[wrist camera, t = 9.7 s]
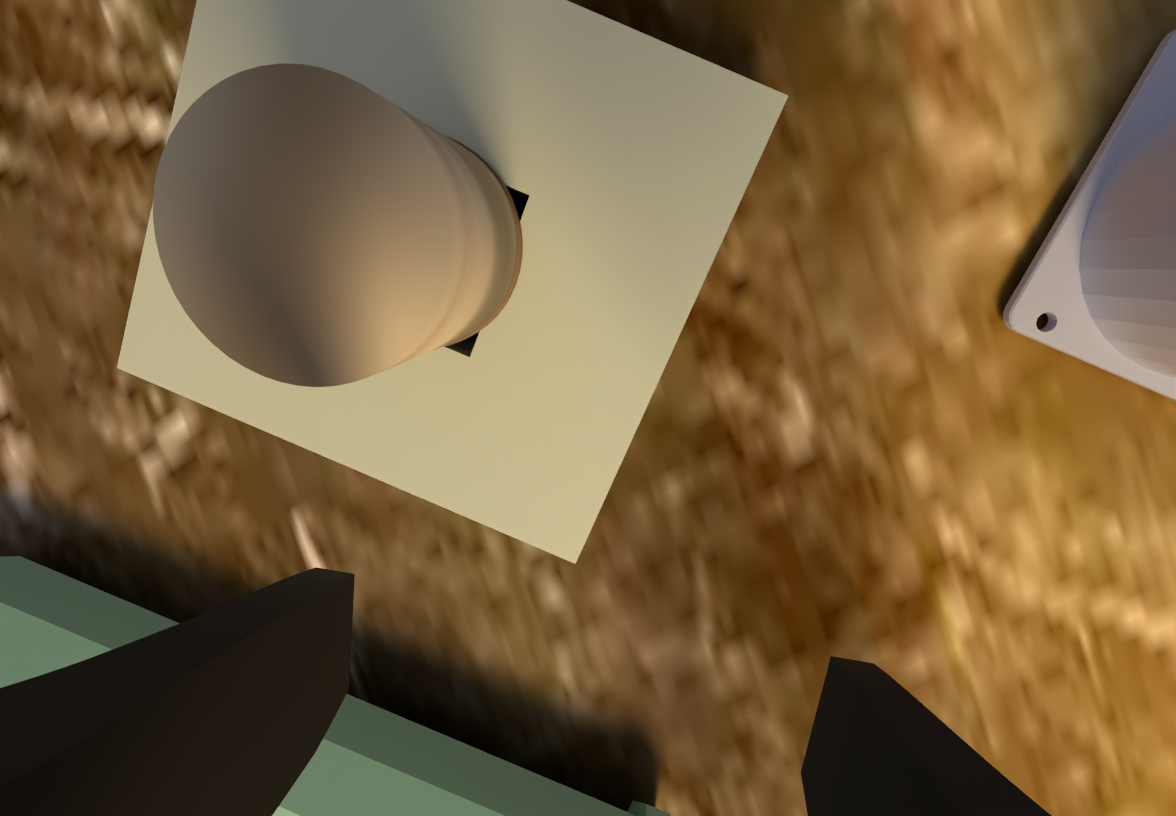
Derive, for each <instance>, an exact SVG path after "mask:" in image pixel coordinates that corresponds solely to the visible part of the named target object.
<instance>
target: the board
mask: <svg viewBox="0 0 1176 816" xmlns="http://www.w3.org/2000/svg"><path fill="white" fill-rule="evenodd" d="M280 63H285V64H304V65H310V66H315V67H321V68H324V69H327V70H330V71H333V72H336V73H339V74H342V75H344V76H346V77H348V78H350V79H352V80H354V81H356V82H358V83H360V84H362V85H364V86H366V87H367V88H369V89H371V90H372V91H374V92H375V93H377V94H379V95H380V96H382V97H383V98H385V99H387V100H388V101H390V102H392V103H393V104H395V105H396V106H398V107H400V108H401V109H403V110H404V111H406V112H408V113H409V114H411V115H413V116H414V117H416V118H417V119H419V120H421V121H422V122H424V123H425V124H427V125H429V126H430V127H432V128H434V129H435V130H437V131H438V132H440V133H442V134H443V135H445V136H448V137H450V138H452V139H454V140H456V141H458V142H460V143H462V144H463V145H465V146H467V147H468V148H470V149H471V150H473V151H474V152H475V153H477V154H478V155H480V156H481V157H482V158H483V159H484V160H485V161H486V162H487V163H489V164H490V166H491V167H492V168H493V169H494V170H495V171H496V172H497V174H498V175H499V176H500V178H501V179H502V181H503V182H504V184H505V185H506V187H507V188H509V189H511V190H514V191H516V192H518V193H521V194H523V195H525V196H528V197H529V199H528V201H527V204H526V207H525V209H524V212H523V215H522V218H521V220H520V224H521V229H522V239H523V253H522V262H521V269H520V273H519V276H518V280H517V283H516V286H515V288H514V290H513V292H512V295H511V297H510V298H509V300H508V302H507V303H506V305H505V307H504V308H503V309H502V310H501V312H500V313H499V314H498V315H497V317H496V318H495V319H494V320H493V321H492V322H490V323H489V324H488V325H487V326H486V327H485V328H483V329H482V330H480V331H479V334H478V337H477V338H475V337H472V336H471V337H469V338H467V339H465V340H462V341H460V342H457V343H454V344H452V345H449V346H444V347H440V348H438V349H436V350H433V351H431V352H428V353H426V354H423V355H421V356H419V357H416V358H414V359H411V360H409V361H407V362H404V363H402V364H399V365H397V366H394V367H392V368H390V369H387V370H385V371H382V372H380V373H377V374H375V375H373V376H370V377H367V378H365V379H362V380H359V381H356V382H353V383H348V384H343V385H338V386H329V387H307V386H297V385H292V384H287V383H282V382H279V381H276V380H273V379H270V378H267V377H264V376H261V375H259V374H257V373H255V372H253V371H251V370H249V369H247V368H245V367H243V366H242V365H240V364H239V363H237V362H236V361H234V360H232V359H231V358H229V357H228V356H227V355H225V354H224V353H223V352H222V351H221V350H219V349H218V348H217V347H216V346H214V345H213V344H212V343H211V342H210V341H209V340H208V339H207V338H206V337H205V336H204V335H203V334H202V333H201V332H200V330H199V329H198V328H197V327H196V326H195V324H194V323H193V322H192V320H191V319H190V318H189V317H188V315H187V314H186V313H185V311H184V309H183V308H182V306H181V304H180V303H179V301H178V299H177V298H176V296H175V294H174V292H173V290H172V288H171V286H170V284H169V282H168V279H167V277H166V275H165V272H164V269H163V266H162V263H161V260H160V257H159V252H158V248H157V243H156V239H155V232H154V222H153V204H152V209H151V214H150V218H149V223H148V227H147V232H146V237H145V241H144V246H143V250H142V255H141V260H140V264H139V269H138V273H137V278H136V282H135V287H134V292H133V296H132V301H131V305H130V310H129V315H128V319H127V324H126V328H125V333H124V338H123V342H122V347H121V351H120V356H119V361H118V365H117V368H118V369H121V370H123V371H125V372H128V373H130V374H132V375H135V376H137V377H139V378H142V379H144V380H146V381H149V382H151V383H153V384H156V385H158V386H160V387H163V388H165V389H168V390H170V391H172V392H175V393H177V394H179V395H182V396H184V397H186V398H189V399H191V400H193V401H196V402H198V403H200V404H203V405H205V406H207V407H210V408H212V409H214V410H217V411H219V412H221V413H224V414H226V415H228V416H231V417H233V418H235V419H238V420H240V421H242V422H245V423H247V424H249V425H252V426H254V427H256V428H259V429H261V430H263V431H266V432H268V433H270V434H273V435H275V436H277V437H280V438H282V439H284V440H287V441H289V442H292V443H294V444H296V445H299V446H301V447H303V448H306V449H308V450H310V451H313V452H315V453H317V454H320V455H322V456H324V457H327V458H329V459H331V460H334V461H336V462H338V463H341V464H343V465H345V466H348V467H350V468H352V469H355V470H357V471H359V472H362V473H364V474H366V475H369V476H371V477H373V478H376V479H378V480H380V481H383V482H385V483H387V484H390V485H392V486H394V487H397V488H399V489H401V490H404V491H406V492H409V493H411V494H413V495H416V496H418V497H420V498H423V499H425V500H427V501H430V502H432V503H434V504H437V505H439V506H441V507H444V508H446V509H448V510H451V511H453V512H455V513H458V514H460V515H462V516H465V517H467V518H469V519H472V520H474V521H476V522H479V523H481V524H483V525H486V526H488V527H490V528H493V529H495V530H497V531H500V532H502V533H504V534H507V535H509V536H511V537H514V538H516V539H518V540H521V541H523V542H525V543H528V544H530V545H533V546H535V547H537V548H540V549H542V550H544V551H547V552H549V553H551V554H554V555H556V556H558V557H561V558H563V559H565V560H568V561H570V562H572V563H575V564H576V561H577V559H578V557H579V555H580V553H581V550H582V548H583V546H584V544H585V542H586V539H587V537H588V535H589V533H590V531H591V528H592V526H593V524H594V522H595V520H596V517H597V515H598V513H599V511H600V509H601V506H602V504H603V502H604V500H605V498H606V495H607V493H608V491H609V489H610V487H611V484H612V482H613V480H614V478H615V476H616V473H617V471H618V469H619V467H620V465H621V462H622V460H623V458H624V456H625V454H626V452H627V449H628V447H629V445H630V443H631V441H632V438H633V436H634V434H635V432H636V430H637V427H638V425H639V423H640V421H641V419H642V416H643V414H644V412H645V410H646V408H647V405H648V403H649V401H650V399H651V397H652V394H653V392H654V390H655V388H656V386H657V383H658V381H659V379H660V377H661V375H662V372H663V370H664V368H665V366H666V364H667V361H668V359H669V357H670V355H671V353H672V350H673V348H674V346H675V344H676V342H677V339H678V337H679V335H680V333H681V331H682V328H683V326H684V324H685V322H686V320H687V317H688V315H689V313H690V311H691V309H692V306H693V304H694V302H695V300H696V298H697V295H698V293H699V291H700V289H701V287H702V284H703V282H704V280H705V278H706V276H707V273H708V271H709V269H710V267H711V265H712V263H713V260H714V258H715V256H716V254H717V252H718V249H719V247H720V245H721V243H722V241H723V238H724V236H725V234H726V232H727V230H728V227H729V225H730V223H731V221H732V219H733V216H734V214H735V212H736V210H737V208H738V205H739V203H740V201H741V199H742V197H743V194H744V192H745V190H746V188H747V186H748V183H749V181H750V179H751V177H752V175H753V172H754V170H755V168H756V166H757V164H758V161H759V159H760V157H761V155H762V153H763V150H764V148H765V146H766V144H767V142H768V139H769V137H770V135H771V133H772V131H773V128H774V126H775V124H776V122H777V120H778V117H779V115H780V113H781V111H782V109H783V106H784V104H785V102H786V100H787V98H788V95H786V94H783V93H781V92H779V91H776V90H774V89H772V88H769V87H767V86H765V85H762V84H760V83H758V82H755V81H753V80H751V79H748V78H746V77H744V76H741V75H739V74H737V73H734V72H732V71H730V70H727V69H725V68H723V67H721V66H718V65H716V64H714V63H711V62H709V61H707V60H704V59H702V58H700V57H697V56H695V55H693V54H690V53H688V52H686V51H683V50H681V49H679V48H676V47H674V46H672V45H669V44H667V43H665V42H662V41H660V40H658V39H655V38H653V37H651V36H649V35H646V34H644V33H642V32H639V31H637V30H635V29H632V28H630V27H628V26H625V25H623V24H621V23H618V22H616V21H614V20H611V19H609V18H607V17H604V16H602V15H600V14H597V13H595V12H593V11H590V10H588V9H586V8H583V7H581V6H579V5H577V4H574V3H572V2H570V1H567V0H197V2H196V7H195V11H194V16H193V21H192V25H191V30H190V34H189V39H188V44H187V48H186V53H185V57H184V62H183V67H182V71H181V76H180V80H179V85H178V89H177V94H176V99H175V103H174V108H173V112H172V117H171V122H170V126H169V131H168V135H167V140H166V143H167V141H168V138H169V136H170V134H171V133H172V131H173V129H174V128H175V126H176V124H177V123H178V121H179V119H180V118H181V117H182V116H183V114H184V113H185V112H186V111H187V109H188V108H189V107H190V106H191V105H192V103H194V102H195V101H196V100H197V99H198V98H199V97H200V96H201V95H202V94H203V93H205V92H206V91H207V90H208V89H210V88H211V87H213V86H214V85H216V84H217V83H219V82H220V81H222V80H223V79H225V78H228V77H230V76H232V75H234V74H236V73H239V72H241V71H244V70H247V69H251V68H255V67H258V66H263V65H271V64H280Z"/></svg>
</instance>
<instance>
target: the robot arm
mask: <svg viewBox="0 0 1176 816" xmlns="http://www.w3.org/2000/svg"><path fill="white" fill-rule="evenodd" d="M1043 313H1045V314H1047V316H1048V322H1047V325H1046V326H1045V327H1044V328H1043V329H1041V330H1039V329H1038V328H1037V325H1036V322H1037V318H1038V317H1039V316H1040V315H1041V314H1043ZM1003 321H1004V323H1005V325H1006V327H1008V328H1009V329H1010V330H1012V331H1014V332H1016V333H1019V334H1021V335H1023V336H1026V337H1028V338H1030V339H1033V340H1035V341H1037V342H1040V343H1042V344H1044V345H1047V346H1049V347H1051V348H1054V349H1056V350H1058V351H1061V352H1063V353H1065V354H1068V355H1070V356H1072V357H1075V358H1077V359H1079V360H1082V361H1084V362H1086V363H1089V364H1091V365H1093V366H1096V367H1098V368H1100V369H1102V370H1105V371H1107V372H1109V373H1112V374H1114V375H1116V376H1119V377H1121V378H1123V379H1126V380H1128V381H1130V382H1133V383H1135V384H1137V385H1140V386H1142V387H1144V388H1147V389H1149V390H1151V391H1154V392H1156V393H1158V394H1161V395H1163V396H1165V397H1168V398H1170V399H1172V400H1175V401H1176V29H1175V30H1173V31H1172V32H1170V33H1168V34H1167V35H1166V36H1165V37H1164V39H1163V40H1162V41H1161V42H1160V44H1159V46H1158V48H1157V49H1156V51H1155V53H1154V54H1153V56H1152V58H1151V59H1150V61H1149V63H1148V65H1147V66H1146V68H1145V70H1144V71H1143V73H1142V75H1141V76H1140V78H1139V80H1138V82H1137V83H1136V85H1135V87H1134V88H1133V90H1132V92H1131V93H1130V95H1129V97H1128V99H1127V100H1126V102H1125V104H1124V105H1123V107H1122V109H1121V111H1120V112H1119V114H1118V116H1117V117H1116V119H1115V121H1114V122H1113V124H1112V126H1111V128H1110V129H1109V131H1108V133H1107V134H1106V136H1105V138H1104V139H1103V141H1102V143H1101V145H1100V146H1099V148H1098V150H1097V151H1096V153H1095V155H1094V156H1093V158H1092V160H1091V162H1090V163H1089V165H1088V167H1087V168H1086V170H1085V172H1084V174H1083V175H1082V177H1081V179H1080V180H1079V182H1078V184H1077V185H1076V187H1075V189H1074V191H1073V192H1072V194H1071V196H1070V197H1069V199H1068V201H1067V202H1066V204H1065V206H1064V208H1063V209H1062V211H1061V213H1060V214H1059V216H1058V218H1057V220H1056V221H1055V223H1054V225H1053V226H1052V228H1051V230H1050V231H1049V233H1048V235H1047V237H1046V238H1045V240H1044V242H1043V243H1042V245H1041V247H1040V248H1039V250H1038V252H1037V254H1036V255H1035V257H1034V259H1033V260H1032V262H1031V264H1030V265H1029V267H1028V269H1027V271H1026V272H1025V274H1024V276H1023V277H1022V279H1021V281H1020V283H1019V284H1018V286H1017V288H1016V289H1015V291H1014V293H1013V294H1012V296H1011V298H1010V300H1009V301H1008V303H1007V305H1006V306H1005V309H1004V312H1003ZM353 594H354V574H351V573H345V572H339V571H333V570H327V569H322V568H314V569H311V570H307V571H304V572H302V573H299V574H296V575H294V576H291V577H289V578H286V579H284V580H281V581H279V582H276V583H274V584H272V585H269V586H267V587H264V588H262V589H260V590H257V591H255V592H253V593H250V594H248V595H246V596H243V597H241V598H239V599H236V600H234V601H232V602H229V603H227V604H225V605H222V606H220V607H217V608H215V609H213V610H210V611H208V612H206V613H203V614H201V615H199V616H196V617H194V618H191V619H189V620H187V621H184V622H182V623H180V624H177V625H175V626H172V627H169V628H167V629H164V630H162V631H159V632H156V633H154V634H151V635H149V636H146V637H144V638H141V639H138V640H136V641H133V642H131V643H128V644H125V645H123V646H120V647H118V648H115V649H113V650H110V651H107V652H105V653H102V654H100V655H97V656H94V657H92V658H89V659H86V660H83V661H81V662H78V663H75V664H72V665H69V666H66V667H63V668H60V669H58V670H55V671H52V672H49V673H46V674H43V675H40V676H37V677H34V678H30V679H27V680H24V681H21V682H18V683H15V684H11V685H8V686H5V687H2V688H0V816H272V815H273V814H274V812H275V811H276V809H277V808H278V807H279V805H280V804H281V802H282V801H283V799H284V798H285V796H286V795H287V794H288V792H289V791H290V789H291V788H292V786H293V785H294V783H295V782H296V780H297V779H298V778H299V776H300V775H301V773H302V772H303V770H304V769H305V767H306V766H307V764H308V763H309V761H310V760H311V758H312V757H313V755H314V754H315V752H316V751H317V749H318V747H319V745H320V743H321V741H322V740H323V738H324V736H325V734H326V732H327V731H328V729H329V727H330V725H331V723H332V721H333V719H334V717H335V716H336V714H337V712H338V710H339V708H340V706H341V704H342V702H343V700H344V698H345V696H346V694H347V692H348V690H349V678H350V657H351V636H352V615H353ZM801 776H802V782H803V788H804V794H805V801H806V807H807V813H808V816H1051V815H1050V814H1049V813H1047V812H1046V811H1045V810H1044V809H1042V808H1041V807H1040V806H1039V805H1038V804H1036V803H1035V802H1034V801H1033V800H1032V799H1030V798H1029V797H1028V796H1027V795H1026V794H1025V793H1023V792H1022V791H1021V790H1020V789H1019V788H1017V787H1016V786H1015V785H1014V784H1013V783H1011V782H1010V781H1009V780H1008V779H1007V778H1006V777H1004V776H1003V775H1002V774H1001V773H1000V772H999V771H997V770H996V769H995V768H994V767H993V766H992V765H991V764H989V763H988V762H987V761H986V760H985V759H984V758H983V757H981V756H980V755H979V754H978V753H977V752H976V751H975V750H973V749H972V748H971V747H970V746H969V745H968V744H967V743H965V742H964V741H963V740H962V739H961V738H960V737H959V736H958V735H956V734H955V733H954V732H953V731H952V730H951V729H950V728H949V727H947V726H946V725H945V724H944V723H943V722H942V721H941V720H940V719H938V718H937V717H936V716H935V715H934V714H933V713H932V712H931V711H929V710H928V709H927V708H926V707H925V706H924V705H923V704H922V703H920V702H919V701H918V700H917V699H916V698H915V697H914V696H912V695H911V694H910V693H909V692H908V691H907V690H906V689H904V688H903V687H902V686H901V685H900V684H899V683H897V682H896V681H895V680H894V679H893V678H891V677H890V676H889V675H888V674H887V673H885V672H884V671H883V670H881V669H880V668H879V667H877V666H876V665H875V664H873V663H867V662H861V661H856V660H850V659H844V658H838V657H832V656H831V658H830V662H829V666H828V670H827V674H826V677H825V681H824V685H823V689H822V693H821V697H820V701H819V705H818V708H817V712H816V716H815V720H814V724H813V728H812V732H811V735H810V739H809V743H808V747H807V751H806V755H805V759H804V763H803V766H802V770H801Z"/></svg>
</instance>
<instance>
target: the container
mask: <svg viewBox="0 0 1176 816" xmlns="http://www.w3.org/2000/svg"><path fill="white" fill-rule="evenodd" d="M177 624H180V623H177V622H175V621H173V620H170V619H168V618H166V617H163V616H161V615H158V614H156V613H154V612H151V611H149V610H147V609H144V608H142V607H140V606H137V605H135V604H132V603H130V602H128V601H125V600H123V599H121V598H118V597H116V596H113V595H111V594H109V593H106V592H104V591H102V590H99V589H97V588H94V587H92V586H90V585H87V584H85V583H83V582H80V581H78V580H75V579H73V578H71V577H68V576H66V575H64V574H61V573H59V572H56V571H54V570H52V569H49V568H47V567H45V566H42V565H40V564H37V563H35V562H33V561H30V560H28V559H26V558H23V557H21V556H5V557H0V688H2V687H5V686H8V685H11V684H15V683H18V682H21V681H24V680H27V679H30V678H34V677H37V676H40V675H43V674H46V673H49V672H52V671H55V670H58V669H60V668H63V667H66V666H69V665H72V664H75V663H78V662H81V661H83V660H86V659H89V658H92V657H94V656H97V655H100V654H102V653H105V652H107V651H110V650H113V649H115V648H118V647H120V646H123V645H125V644H128V643H131V642H133V641H136V640H138V639H141V638H144V637H146V636H149V635H151V634H154V633H156V632H159V631H162V630H164V629H167V628H169V627H172V626H175V625H177ZM272 816H670V814H669V813H667V812H664V811H662V810H660V809H657V808H655V807H653V806H650V805H648V804H645V803H641V802H637V801H632V803H631V805H630V807H629V809H628V811H627V812H626V811H624V810H621V809H619V808H617V807H614V806H612V805H609V804H607V803H605V802H602V801H600V800H598V799H595V798H593V797H590V796H588V795H586V794H583V793H581V792H579V791H576V790H574V789H572V788H569V787H567V786H564V785H562V784H560V783H557V782H555V781H553V780H550V779H548V778H545V777H543V776H541V775H538V774H536V773H534V772H531V771H529V770H526V769H524V768H522V767H519V766H517V765H515V764H512V763H510V762H507V761H505V760H503V759H500V758H498V757H496V756H493V755H491V754H488V753H486V752H484V751H481V750H479V749H477V748H474V747H472V746H469V745H467V744H465V743H462V742H460V741H458V740H455V739H453V738H450V737H448V736H446V735H443V734H441V733H439V732H436V731H434V730H431V729H429V728H427V727H424V726H422V725H420V724H417V723H415V722H412V721H410V720H408V719H405V718H403V717H401V716H398V715H396V714H393V713H391V712H389V711H386V710H384V709H382V708H379V707H377V706H374V705H372V704H370V703H367V702H365V701H363V700H360V699H358V698H356V697H353V696H351V695H348V694H346V696H345V698H344V700H343V702H342V704H341V706H340V708H339V710H338V712H337V714H336V716H335V717H334V719H333V721H332V723H331V725H330V727H329V729H328V731H327V732H326V734H325V736H324V738H323V740H322V741H321V743H320V745H319V747H318V749H317V751H316V752H315V754H314V755H313V757H312V758H311V760H310V761H309V763H308V764H307V766H306V767H305V769H304V770H303V772H302V773H301V775H300V776H299V778H298V779H297V780H296V782H295V783H294V785H293V786H292V788H291V789H290V791H289V792H288V794H287V795H286V796H285V798H284V799H283V801H282V802H281V804H280V805H279V807H278V808H277V809H276V811H275V812H274V814H273V815H272Z"/></svg>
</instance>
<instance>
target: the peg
mask: <svg viewBox="0 0 1176 816" xmlns="http://www.w3.org/2000/svg"><path fill="white" fill-rule="evenodd" d="M153 222H154V232H155V239H156V243H157V248H158V252H159V257H160V260H161V263H162V266H163V269H164V272H165V275H166V277H167V279H168V282H169V284H170V286H171V288H172V290H173V292H174V294H175V296H176V298H177V299H178V301H179V303H180V304H181V306H182V308H183V309H184V311H185V313H186V314H187V315H188V317H189V318H190V319H191V320H192V322H193V323H194V324H195V326H196V327H197V328H198V329H199V330H200V332H201V333H202V334H203V335H204V336H205V337H206V338H207V339H208V340H209V341H210V342H211V343H212V344H213V345H214V346H216V347H217V348H218V349H219V350H221V351H222V352H223V353H224V354H225V355H227V356H228V357H229V358H231V359H232V360H234V361H236V362H237V363H239V364H240V365H242V366H243V367H245V368H247V369H249V370H251V371H253V372H255V373H257V374H259V375H261V376H264V377H267V378H270V379H273V380H276V381H279V382H282V383H287V384H292V385H297V386H307V387H329V386H338V385H343V384H348V383H353V382H356V381H359V380H362V379H365V378H367V377H370V376H373V375H375V374H377V373H380V372H382V371H385V370H387V369H390V368H392V367H394V366H397V365H399V364H402V363H404V362H407V361H409V360H411V359H414V358H416V357H419V356H421V355H423V354H426V353H428V352H431V351H433V350H436V349H438V348H440V347H444V346H449V345H452V344H454V343H457V342H460V341H462V340H465V339H467V338H469V337H471V336H472V335H474V334H476V333H478V332H479V331H480V330H482V329H483V328H485V327H486V326H487V325H488V324H489V323H490V322H492V321H493V320H494V319H495V318H496V317H497V315H498V314H499V313H500V312H501V310H502V309H503V308H504V307H505V305H506V303H507V302H508V300H509V298H510V297H511V295H512V292H513V290H514V288H515V286H516V283H517V280H518V276H519V273H520V269H521V262H522V253H523V239H522V229H521V224H520V219H519V215H518V212H517V209H516V206H515V203H514V201H513V198H512V196H511V194H510V192H509V190H508V188H507V187H506V185H505V184H504V182H503V181H502V179H501V178H500V176H499V175H498V174H497V172H496V171H495V170H494V169H493V168H492V167H491V166H490V164H489V163H487V162H486V161H485V160H484V159H483V158H482V157H481V156H480V155H478V154H477V153H475V152H474V151H473V150H471V149H470V148H468V147H467V146H465V145H463V144H462V143H460V142H458V141H456V140H454V139H452V138H450V137H448V136H445V135H443V134H442V133H440V132H438V131H437V130H435V129H434V128H432V127H430V126H429V125H427V124H425V123H424V122H422V121H421V120H419V119H417V118H416V117H414V116H413V115H411V114H409V113H408V112H406V111H404V110H403V109H401V108H400V107H398V106H396V105H395V104H393V103H392V102H390V101H388V100H387V99H385V98H383V97H382V96H380V95H379V94H377V93H375V92H374V91H372V90H371V89H369V88H367V87H366V86H364V85H362V84H360V83H358V82H356V81H354V80H352V79H350V78H348V77H346V76H344V75H342V74H339V73H336V72H333V71H330V70H327V69H324V68H321V67H315V66H310V65H304V64H285V63H280V64H271V65H263V66H258V67H255V68H251V69H247V70H244V71H241V72H239V73H236V74H234V75H232V76H230V77H228V78H225V79H223V80H222V81H220V82H219V83H217V84H216V85H214V86H213V87H211V88H210V89H208V90H207V91H206V92H205V93H203V94H202V95H201V96H200V97H199V98H198V99H197V100H196V101H195V102H194V103H192V105H191V106H190V107H189V108H188V109H187V111H186V112H185V113H184V114H183V116H182V117H181V118H180V119H179V121H178V123H177V124H176V126H175V128H174V129H173V131H172V133H171V134H170V136H169V138H168V141H167V143H166V145H165V148H164V150H163V153H162V155H161V158H160V162H159V166H158V169H157V173H156V179H155V186H154V193H153Z"/></svg>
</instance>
